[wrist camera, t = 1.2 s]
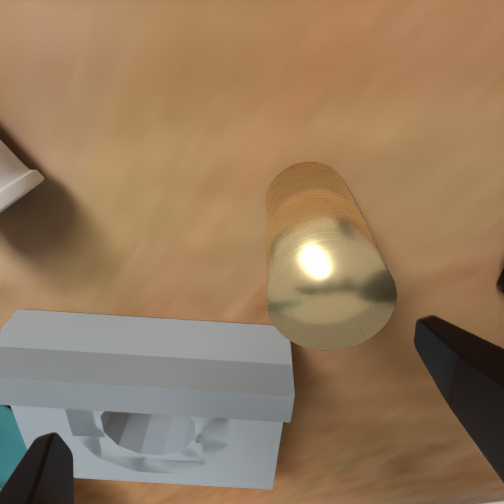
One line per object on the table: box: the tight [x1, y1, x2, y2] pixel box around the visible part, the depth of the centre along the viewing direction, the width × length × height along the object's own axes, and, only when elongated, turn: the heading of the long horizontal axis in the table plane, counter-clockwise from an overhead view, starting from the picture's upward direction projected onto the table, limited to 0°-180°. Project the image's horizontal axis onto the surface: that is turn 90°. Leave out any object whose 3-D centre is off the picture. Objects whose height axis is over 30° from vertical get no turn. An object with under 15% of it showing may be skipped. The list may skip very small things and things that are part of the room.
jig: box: [0, 309, 295, 490], centre depth 24 cm, size 16×12×5 cm
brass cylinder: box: [266, 162, 397, 351], centre depth 16 cm, size 4×4×8 cm
